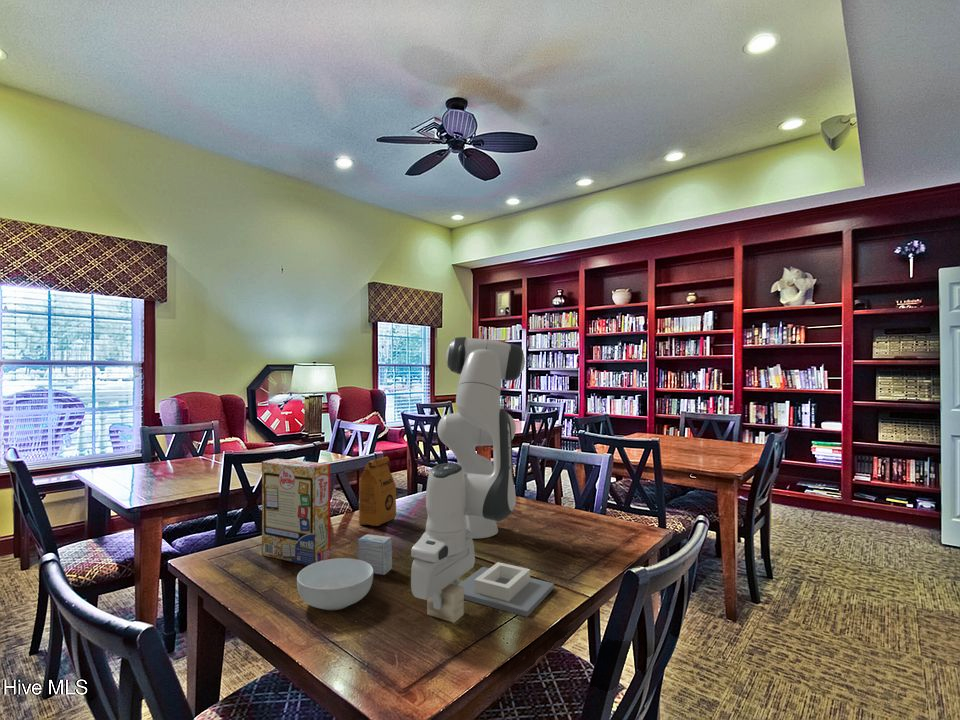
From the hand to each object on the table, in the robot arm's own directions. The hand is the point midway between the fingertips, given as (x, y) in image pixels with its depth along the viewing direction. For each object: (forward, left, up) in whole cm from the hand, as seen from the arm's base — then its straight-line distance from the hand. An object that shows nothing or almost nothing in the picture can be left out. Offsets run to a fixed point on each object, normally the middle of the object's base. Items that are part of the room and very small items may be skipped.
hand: (445, 602), depth 110 cm
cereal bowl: (-25, -8, -3) cm, 26 cm away
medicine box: (-29, +10, -3) cm, 31 cm away
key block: (0, 0, -3) cm, 3 cm away
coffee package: (-55, +41, -3) cm, 69 cm away
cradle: (+6, +16, -3) cm, 17 cm away
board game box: (-54, +5, -3) cm, 54 cm away
